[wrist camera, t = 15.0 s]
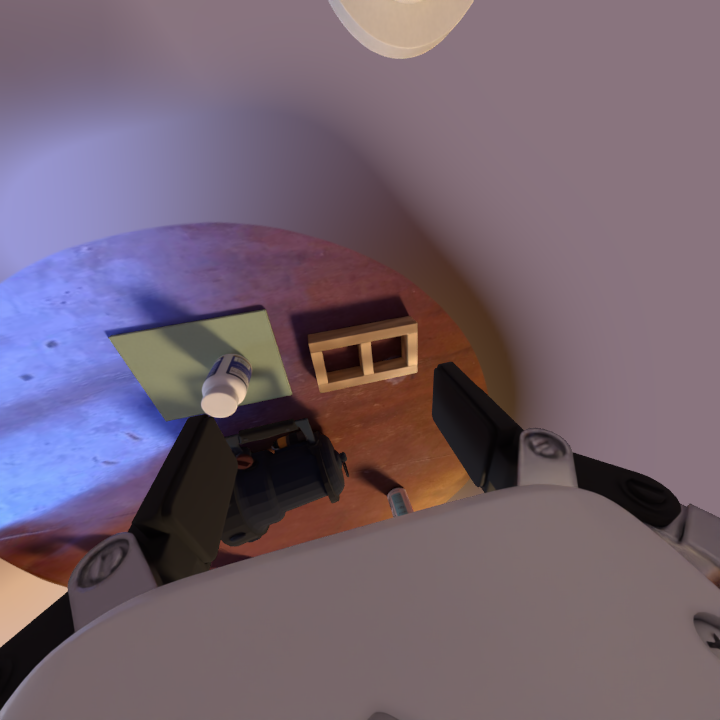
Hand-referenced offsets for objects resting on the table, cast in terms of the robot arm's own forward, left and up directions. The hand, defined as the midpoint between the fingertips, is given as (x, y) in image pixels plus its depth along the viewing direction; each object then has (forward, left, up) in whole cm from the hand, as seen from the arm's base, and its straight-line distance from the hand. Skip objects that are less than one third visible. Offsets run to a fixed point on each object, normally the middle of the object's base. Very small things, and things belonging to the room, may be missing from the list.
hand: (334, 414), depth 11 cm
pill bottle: (+11, -14, -28) cm, 33 cm away
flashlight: (+28, -11, -28) cm, 41 cm away
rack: (+13, +6, -28) cm, 32 cm away
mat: (+11, -17, -28) cm, 35 cm away
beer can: (+55, +10, -28) cm, 63 cm away
